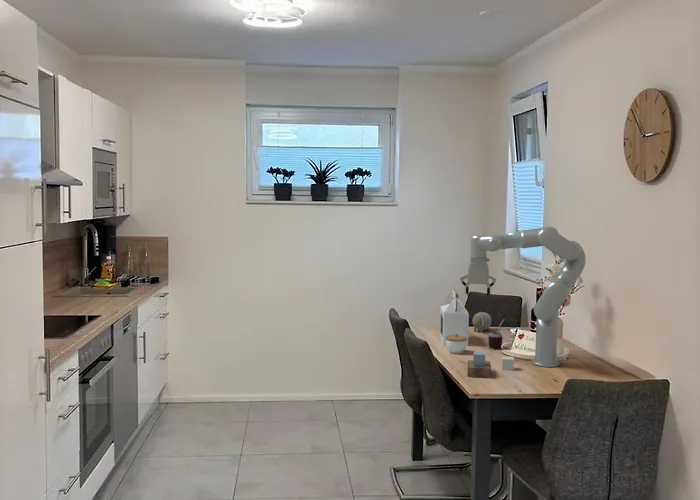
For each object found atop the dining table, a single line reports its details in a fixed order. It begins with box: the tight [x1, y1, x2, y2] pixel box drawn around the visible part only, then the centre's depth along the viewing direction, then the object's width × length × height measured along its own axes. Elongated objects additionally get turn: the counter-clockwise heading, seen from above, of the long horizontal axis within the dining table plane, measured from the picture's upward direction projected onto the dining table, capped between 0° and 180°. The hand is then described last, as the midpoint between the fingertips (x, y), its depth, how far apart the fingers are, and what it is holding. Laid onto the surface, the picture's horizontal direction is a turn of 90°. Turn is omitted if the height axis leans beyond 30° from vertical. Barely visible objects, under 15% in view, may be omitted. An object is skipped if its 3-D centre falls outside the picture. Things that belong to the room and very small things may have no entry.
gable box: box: [439, 288, 470, 347], centre depth 356 cm, size 22×13×28 cm, turn 177°
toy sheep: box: [472, 311, 493, 333], centre depth 385 cm, size 11×17×11 cm, turn 141°
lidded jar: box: [445, 334, 467, 354], centre depth 332 cm, size 11×11×9 cm
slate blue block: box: [473, 351, 486, 366], centre depth 292 cm, size 5×5×5 cm
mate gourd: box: [488, 318, 506, 351], centre depth 341 cm, size 8×8×15 cm
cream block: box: [501, 355, 515, 371], centre depth 301 cm, size 5×5×5 cm
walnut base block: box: [466, 359, 492, 379], centre depth 293 cm, size 10×13×4 cm
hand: (477, 295), depth 321 cm, fingers open, 9 cm apart
